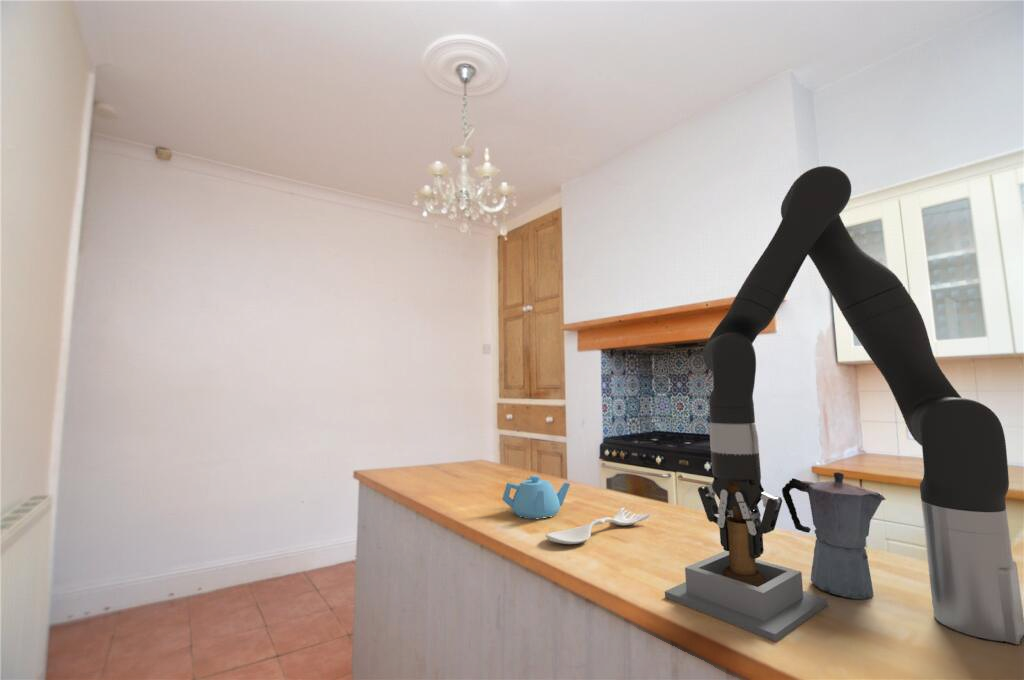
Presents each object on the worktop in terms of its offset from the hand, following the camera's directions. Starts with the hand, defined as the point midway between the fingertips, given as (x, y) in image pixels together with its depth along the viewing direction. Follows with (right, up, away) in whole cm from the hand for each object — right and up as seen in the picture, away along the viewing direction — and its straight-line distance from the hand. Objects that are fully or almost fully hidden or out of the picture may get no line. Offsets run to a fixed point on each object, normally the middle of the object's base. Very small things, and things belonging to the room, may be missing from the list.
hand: (741, 552), depth 78 cm
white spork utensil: (-17, -13, +37) cm, 43 cm away
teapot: (-31, -15, +56) cm, 66 cm away
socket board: (0, -8, -1) cm, 8 cm away
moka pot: (+19, -8, +3) cm, 21 cm away
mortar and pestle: (0, -6, -1) cm, 6 cm away
